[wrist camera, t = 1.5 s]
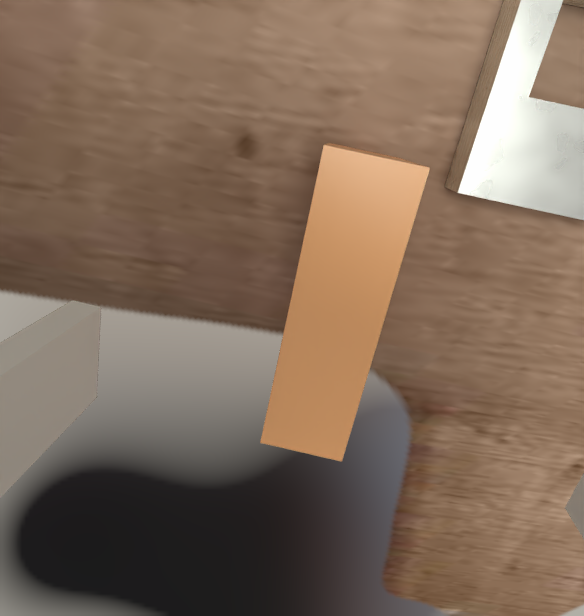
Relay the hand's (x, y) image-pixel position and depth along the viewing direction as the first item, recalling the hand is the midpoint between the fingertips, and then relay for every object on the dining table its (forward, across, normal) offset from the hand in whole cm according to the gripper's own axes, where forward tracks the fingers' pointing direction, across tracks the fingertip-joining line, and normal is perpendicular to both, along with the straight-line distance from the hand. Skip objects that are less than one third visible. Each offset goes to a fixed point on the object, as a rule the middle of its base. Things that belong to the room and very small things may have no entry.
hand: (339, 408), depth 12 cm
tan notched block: (+16, 0, 0) cm, 17 cm away
